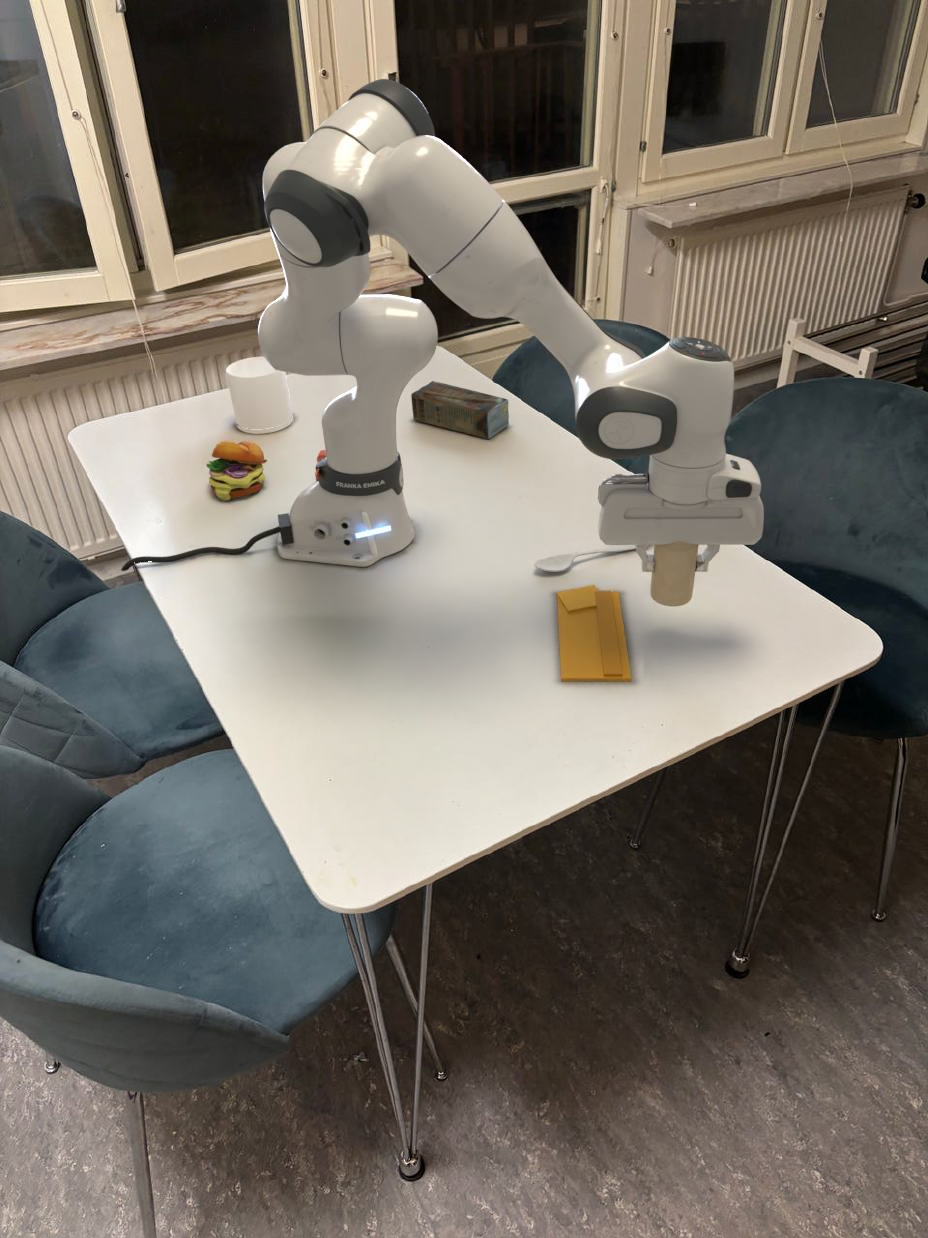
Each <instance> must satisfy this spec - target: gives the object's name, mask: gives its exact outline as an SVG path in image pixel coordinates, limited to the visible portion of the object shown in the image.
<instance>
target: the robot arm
mask: <svg viewBox="0 0 928 1238" xmlns="http://www.w3.org/2000/svg"><path fill="white" fill-rule="evenodd" d="M262 192H263V199H264V206H263V208H264V213H265V214H264V215H265V217H266V221H267V224H268V227H269V230H270V234H271V237H272V240H273V244H274V245H275V249H276V252H277V254H278V257H279V260H280V264H281V267H282V270H283V274H284V278H285V284H286V285H285V289H284V291H283V292H282V294H281V295H280V296H279V297H278V298H277V299H276V300H273V301H272V302H270V303H269V304H268V305H267V307H266V308H265V309H264V311H263V312H262V314H261V316H260V319H259V323H258V328H257V339H258V345H259V348H260V351H261V353H262V355H263V357H265V359H266V360H267V361H268V363H269V364H270V365H271V366H272V367H273V368H274V369H275V370H279V371H283V372H286V373H289V374H294V375H300V376H304V377H305V376H306V377H313V376H315V377H317V376H318V377H319V376H320V377H321V376H327V377H328V376H349V377H350V376H352V377H354V378H355V380H356V385H355V386H354V387H353V388H351V389H349V390H348V391H346V392H344V393H342V394H339V395H338V396H337V397H334V399H332V400H331V401H330V402H329V403H328V404H327V405H326V407H325V408H324V410H323V411H322V412H323V413H322V415H321V427H322V428H321V429H322V434H323V443H324V449H321V450H320V451H319V452H318V455H317V457H316V465H315V472H314V476H315V481H314V482H313V483H312V484H311V485H309V486H308V487H307V488H305V489H304V490H302V491H301V492H300V493H299V494H298V495H297V497H296V498H295V499H294V501H293V504H292V505H291V507H290V511H289V512H287V513H279V514H277V522H278V526H276V527H273V528H271V529H268V530H267V529H266V530H264V531H263V532H260V533H258V534H256V535H254V536H253V537H251V538H250V539H249V540H248V541H247V543H246V544H245V545H244V546H242V547H239V548H229V547H222V546H220V547H219V546H206V547H200V548H195V549H192V550H188V551H184V552H181V553H177V554H173V555H168V556H147V555H145V556H137V557H133V558H131V559H132V560H131V559H129V560H128V561H126V563H124V565H122V567H121V569H120V571H121V572H126V571H128V570H129V569H130V568H132V567H133V566H134V565H137V564H141V563H143V564H144V563H149V562H148V561H152V562H151V563H155V564H164V563H165V564H166V563H172V562H176V561H181V560H185V559H188V558H191V557H195V556H199V555H204V554H214V553H215V554H223V555H242V554H244V553H246V552H249V550H250V549H251V548H252V547H253V546H254V545H255V544H256V543H257V542H259V541H261V540H263V539H265V538H268V537H270V536H273V535H276V534H278V536H277V542H276V544H277V547H276V548H277V552H278V555H279V557H280V558H282V559H283V560H284V559H285V560H292V561H293V560H294V561H302V562H310V563H311V562H312V563H322V564H330V565H331V564H332V565H341V566H349V567H350V566H351V567H360V568H366V567H370V566H371V565H373V564H375V563H376V562H378V561H379V560H381V559H383V558H385V557H387V556H391V555H394V554H396V553H398V552H400V551H402V550H403V549H405V548H407V547H408V546H409V545H410V544H411V543H412V541H413V540H414V538H415V536H416V530H415V528H414V525H413V523H412V520H411V518H410V515H409V511H408V508H407V505H406V500H405V496H404V485H405V483H404V468H403V463H402V458H401V454H400V453H399V451H398V444H397V443H398V441H397V410H398V405H399V401H400V398H401V396H402V394H403V392H404V389H405V388H406V386H407V385H408V384H409V382H410V381H411V380H412V379H413V378H414V377H415V376H416V375H417V374H418V373H419V372H421V371H422V370H424V368H426V367H427V366H428V365H429V363H430V362H431V360H432V359H433V357H434V355H435V353H436V350H437V345H438V341H439V340H438V339H439V332H438V325H437V322H436V319H435V315H434V314H433V312H432V311H431V309H430V308H429V307H428V306H427V304H426V303H425V302H424V301H423V300H421V299H417V298H412V297H408V296H402V295H397V294H363V292H364V291H365V289H366V287H367V285H368V284H369V281H370V278H371V273H372V272H371V269H372V265H371V264H372V263H371V260H370V255H369V254H370V252H371V247H372V246H371V245H372V244H371V238H370V237H373V236H385V237H388V238H391V239H392V240H394V241H396V242H397V243H398V244H399V245H400V246H401V247H402V248H403V249H404V250H405V251H406V252H407V253H408V255H409V256H410V257H411V259H412V260H413V261H414V262H415V263H416V264H417V266H418V267H419V268H420V270H422V272H423V273H424V274H425V275H426V276H427V277H428V278H429V279H430V280H431V281H432V283H433V284H434V285H435V286H436V287H437V288H438V289H439V290H440V291H441V292H442V293H443V294H444V295H445V296H446V297H447V298H448V299H449V300H451V301H452V302H453V303H454V304H456V305H457V306H458V307H459V308H460V309H462V310H463V311H465V312H466V313H468V314H469V315H470V316H471V317H474V318H479V319H499V318H508V319H512V320H515V321H517V322H518V323H520V324H521V325H523V326H524V327H525V328H526V329H527V330H528V331H529V332H530V333H532V335H533V336H534V337H535V338H536V339H537V340H538V341H539V342H540V343H541V344H542V345H543V346H544V347H545V348H546V350H548V352H549V353H550V354H551V355H553V357H554V358H555V359H556V360H557V361H558V362H559V363H560V364H561V365H562V367H563V368H564V369H565V371H566V373H567V375H568V378H569V381H570V384H571V388H572V391H573V392H572V393H573V396H574V417H575V429H576V433H577V436H578V438H579V440H580V442H581V444H582V445H583V446H584V447H585V448H586V449H587V450H588V451H589V452H590V453H592V454H593V455H595V456H597V457H599V458H603V459H608V460H624V459H625V460H627V459H634V458H640V457H641V458H642V457H648V456H649V462H648V473H631V474H622V473H615V474H611V477H606V478H605V479H603V480H602V481H601V482H600V484H599V485H598V489H597V493H598V494H597V501H598V503H599V505H600V512H599V515H598V524H597V527H598V538H599V539H600V541H601V542H602V543H603V544H604V545H606V546H615V545H635V547H636V549H635V551H636V553H637V555H638V556H639V558H640V560H641V572H642V573H652V572H654V565H655V560H654V558H653V555H654V554H651V553H650V554H648V553H647V551H648V547H649V546H654V545H667V544H671V543H674V542H685V543H688V544H691V545H699V546H706V548H705V549H704V550H703V551H702V553H699V554H697V562H696V570H695V573H708V571H709V563H710V562H711V561H712V560H713V559H714V557H716V556H717V554H718V553H719V552H720V548H721V546H732V545H733V546H735V545H736V546H737V545H738V546H742V545H745V546H749V545H750V546H751V545H755V544H757V543H758V542H759V541H760V540H761V539H762V537H763V534H764V533H763V532H764V523H765V521H764V520H765V519H764V518H765V510H764V509H765V507H764V504H763V501H762V499H761V496H760V494H761V491H762V481H761V477H760V475H759V473H758V471H757V469H756V467H755V466H754V465H753V463H752V462H751V461H750V460H749V459H746V458H743V457H740V456H736V455H734V454H733V455H732V454H728V453H727V448H726V442H725V437H726V432H727V430H728V428H729V426H730V423H731V419H732V413H733V412H732V411H733V404H734V394H735V393H734V391H735V367H734V363H733V360H732V358H731V356H730V355H729V354H728V353H727V351H726V350H725V349H724V348H723V347H721V346H720V345H719V344H717V343H714V342H712V341H710V340H707V339H704V338H701V337H700V338H699V337H695V336H682V337H674V338H671V339H669V340H668V341H667V342H666V344H664V345H663V346H662V347H661V348H659V349H657V350H656V351H655V352H653V353H651V354H649V355H648V356H647V355H646V354H645V353H644V352H643V350H642V349H640V348H639V347H638V346H637V345H634V344H633V343H631V342H630V341H627V340H625V339H622V338H620V337H618V336H616V335H614V334H612V333H610V332H609V331H607V330H605V329H604V328H603V327H601V326H600V325H599V324H598V323H597V321H595V320H594V319H593V317H592V316H591V315H590V314H589V313H588V312H587V311H586V310H585V309H584V307H582V305H581V304H580V303H579V302H578V301H577V300H576V299H575V297H574V296H573V295H572V294H571V293H570V292H569V290H567V289H566V288H565V286H564V285H562V283H561V282H560V281H559V279H557V277H556V276H555V274H554V273H553V271H552V270H551V268H550V266H549V265H548V263H547V262H546V260H545V258H544V256H543V254H542V253H541V251H540V249H539V248H538V246H537V244H536V243H535V241H534V239H533V238H532V236H531V235H530V233H529V231H528V230H527V229H526V227H525V226H524V224H523V223H522V221H521V220H520V219H519V217H518V216H517V214H516V213H515V212H514V210H513V209H512V208H511V207H510V206H509V204H508V203H507V202H506V200H504V198H503V197H502V196H501V195H500V193H499V192H498V191H497V190H496V189H495V188H494V187H493V186H492V184H490V183H489V182H488V180H487V179H485V177H484V176H483V175H482V174H481V173H480V172H479V171H478V170H477V169H475V167H473V166H472V164H471V163H470V162H468V161H467V160H466V159H465V158H463V156H462V155H461V154H459V153H458V152H457V151H456V150H454V149H453V148H452V147H450V145H448V144H447V143H445V142H444V141H443V140H441V139H440V138H438V137H436V133H435V127H434V124H433V121H432V118H431V116H430V114H429V112H428V110H427V108H426V107H425V105H424V103H423V102H422V101H421V100H420V98H419V97H418V96H417V94H415V93H414V92H413V91H411V90H410V89H409V88H408V87H406V86H405V85H403V84H402V83H400V82H398V81H396V80H394V79H393V80H392V79H388V78H379V79H375V80H372V81H370V82H369V83H367V84H364V85H363V86H361V87H359V88H358V89H357V90H356V91H354V92H353V93H352V94H350V96H349V98H348V99H347V101H346V102H345V103H343V105H341V106H340V107H339V108H338V109H336V110H335V111H334V112H332V114H331V115H330V116H329V117H327V118H326V119H325V120H324V121H323V122H322V123H320V125H318V127H317V128H316V129H315V130H314V131H313V133H312V135H311V136H310V138H309V139H307V140H306V142H303V141H302V142H294V143H289V144H287V145H284V146H283V147H281V148H279V149H278V150H276V151H275V152H274V154H272V155H271V156H270V158H269V159H268V160H267V163H266V165H265V167H264V170H263V174H262ZM648 545H649V546H648ZM134 562H135V564H134ZM140 562H141V563H140Z"/></svg>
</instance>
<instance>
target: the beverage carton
mask: <svg viewBox="0 0 928 1238" xmlns="http://www.w3.org/2000/svg"><path fill="white" fill-rule="evenodd" d="M410 397H411V406H412V408H411V409H412V416H413V420H414V421H417V422H422V423H425V424H428V425H433V426H437V427H440V428H444V429H447V430H452V431H456V432H459V433H463V434H467V435H470V436H475V437H479V438H483V439H487V440H490V439H492V437H494V436H496V435H497V434H499V433H500V432H501V431H503V430H504V429H505V428H507V427H508V426H509V425H510V424H509V423H510V421H509V419H510V415H509V414H510V413H509V399H507V398H505V397H500V396H496V395H492V394H488V393H484V392H480V391H477V390H472V389H468V388H465V387H460V386H457V385H452V384H448V383H444V382H439V381H434V380H432V381H430V382H429V383H428V384H425V385H423V386H421V387H420V388H419V389H418V390H417V389H416V390H415V391H414V392H411V395H410Z"/></svg>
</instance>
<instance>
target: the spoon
mask: <svg viewBox="0 0 928 1238" xmlns="http://www.w3.org/2000/svg"><path fill="white" fill-rule="evenodd" d="M649 546H650V545H648V546H647V547H649ZM632 550H636V547H635V545H609V546H606V547H600V548H596V549H590V550H586V551H577V552H570V553H565V554H557V555H553V556H549V557H546V558H543V559H538V560H536V561H535V562H534V565H533V567H534V568H536V569H538V570H541V571H545V572H552V573H554V572H556V573H558V572H564V571H566V570H568V569H569V568H570V567H571V566H572V565H573V562H574V560H575V559H576V558H577V557H580V556H588V555H593V554H600V553H603V554H604V553H617V552H627V551H632Z"/></svg>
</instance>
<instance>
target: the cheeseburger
mask: <svg viewBox="0 0 928 1238" xmlns="http://www.w3.org/2000/svg"><path fill="white" fill-rule="evenodd" d="M211 457H212V458H215V459H214V460H209V461H208V463H206V468H208V469H209V470H208V474H209V478H208V483H209V485H210V488H211V491H212V492H213V494H214V495H216V496H217V498H218V499H219V500H221V501H225V502H226V501H230V500H231V499H236V498H241V497H245V496H248V495H251V494H253V493H257V492H259V491H260V490H261V489H262V488H263V484H264V480H265V478H266V476H265V474H264V469H265V467H264V465H263V464H266V463H267V462H268V459H265V455H264V451H263V450H262V448H261V447H260V445H258V443H256V442H251V441H241V442H238V443H237V442H235V441H228V440H225V441H220V442H219V443H217V444H216V446H215V447H214V448H213V449H212V453H211Z"/></svg>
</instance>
